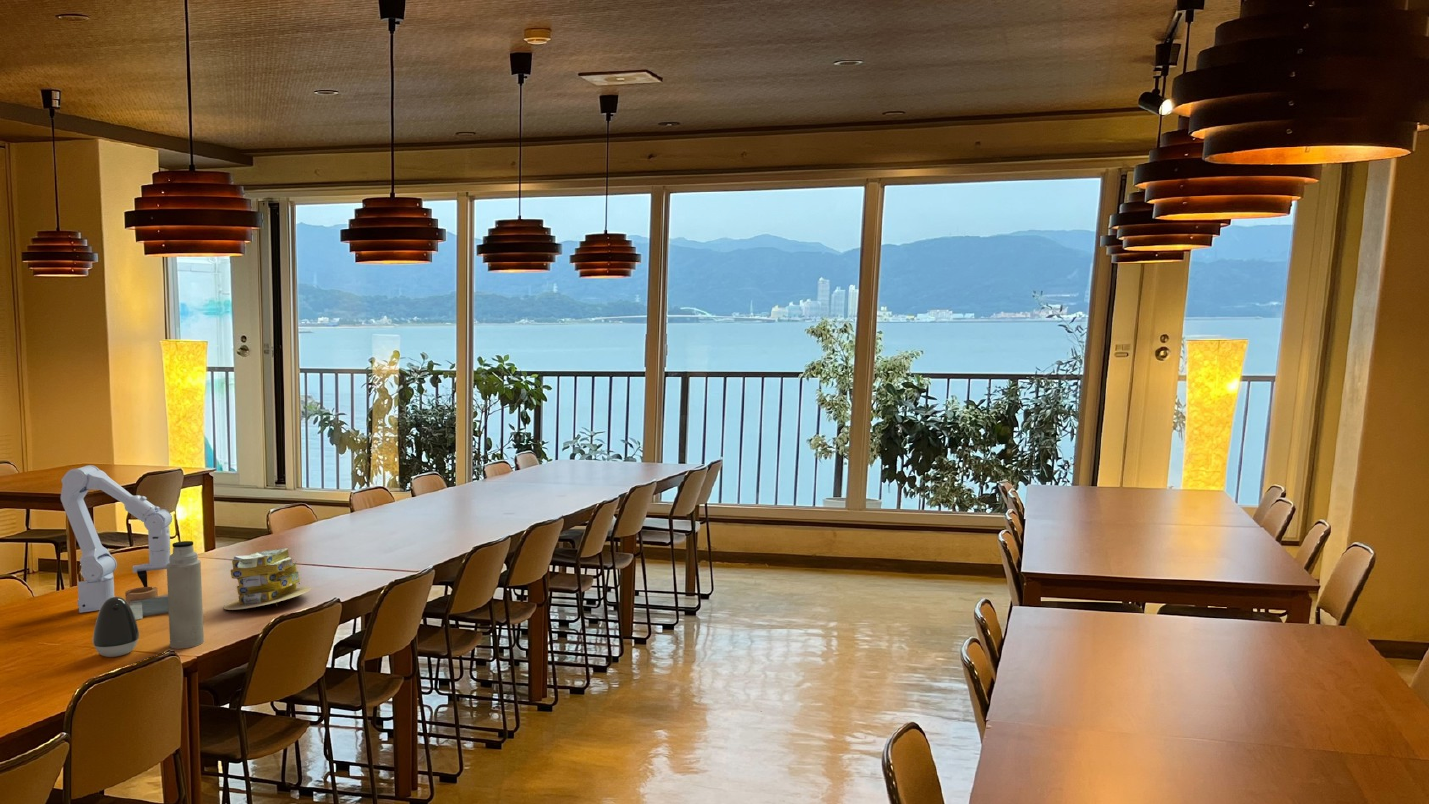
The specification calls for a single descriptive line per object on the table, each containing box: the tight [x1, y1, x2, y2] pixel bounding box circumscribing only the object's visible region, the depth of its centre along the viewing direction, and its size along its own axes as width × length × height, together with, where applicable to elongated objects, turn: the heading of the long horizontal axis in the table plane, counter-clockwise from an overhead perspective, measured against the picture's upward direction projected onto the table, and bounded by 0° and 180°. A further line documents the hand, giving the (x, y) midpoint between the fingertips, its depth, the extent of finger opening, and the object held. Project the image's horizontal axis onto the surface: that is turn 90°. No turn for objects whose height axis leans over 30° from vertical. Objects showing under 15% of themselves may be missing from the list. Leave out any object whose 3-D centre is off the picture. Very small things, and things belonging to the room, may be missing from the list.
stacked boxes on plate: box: [223, 547, 312, 611], centre depth 289 cm, size 25×25×17 cm
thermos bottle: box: [166, 540, 205, 650], centre depth 249 cm, size 8×8×28 cm
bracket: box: [124, 586, 168, 605], centre depth 285 cm, size 18×8×7 cm, turn 153°
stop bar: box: [130, 595, 169, 621], centre depth 278 cm, size 17×4×5 cm, turn 123°
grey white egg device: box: [92, 596, 140, 658], centre depth 242 cm, size 10×10×15 cm
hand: (161, 592), depth 288 cm, fingers open, 7 cm apart
